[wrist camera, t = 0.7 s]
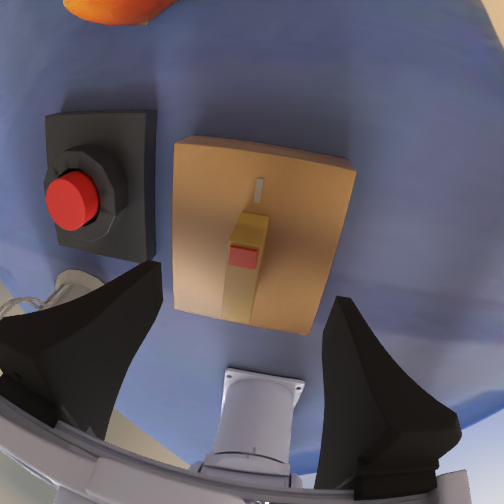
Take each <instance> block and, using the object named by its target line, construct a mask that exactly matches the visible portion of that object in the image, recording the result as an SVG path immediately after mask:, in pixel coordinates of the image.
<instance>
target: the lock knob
mask: <svg viewBox="0 0 504 504" xmlns="http://www.w3.org/2000/svg"><path fill="white" fill-rule="evenodd" d="M268 223H269V217H268V216H262V215H256V214H250V213H244V212H241V214H240V216H239V218H238V221H237V223H236V225H235V227H234V229H233V231H232V234H231V236H230V238H229V240H228V249H227V260H226V270H225V281H224V293H223V304H222V316H221V318H222V319H224V320H229V321H234V322H239V323H245V324H250V320H251V316H252V311H253V307H254V302H255V298H256V293H257V288H258V283H259V277H260V271H261V265H262V259H263V253H264V247H265V241H266V235H267V229H268Z"/></svg>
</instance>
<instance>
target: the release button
mask: <svg viewBox="0 0 504 504" xmlns="http://www.w3.org/2000/svg"><path fill="white" fill-rule="evenodd" d="M46 203H47V208H48V211H49V213H50V215H51V217H52V219H53V220H54V221H55V222H56V223H57V224H58V225H59V226H60V227H62V228H63V229H65V230H70V231H72V230H76V229H78V228H80V227H81V226H82V225H84V224H85V223H86V222H88V221H89V220H90V219H91V218H93V217H94V216H95V215H96V213H97V211H98V209H99V203H100V198H99V193H98V189H97V187H96V185H95V183H94V182H93V180H92V179H91V178H90V177H89V176H88V175H87V174H85V173H83V172H80V171H72V172H69V173H67V174H65V175H64V176H62V177H60V178H58V179H56V180H54V181H53V182H52V183H51V184H50V185H49V187H48V189H47V193H46Z"/></svg>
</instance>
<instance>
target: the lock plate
mask: <svg viewBox="0 0 504 504" xmlns="http://www.w3.org/2000/svg"><path fill="white" fill-rule="evenodd" d="M356 173H357V172H356V170H355V169H354V167H353V166H352V164H351V163H350V162H349V160H348V159H344V158H339V157H335V156H330V155H325V154H320V153H315V152H310V151H305V150H300V149H294V148H288V147H283V146H277V145H270V144H264V143H257V142H251V141H243V140H236V139H228V138H219V137H210V136H200V135H190V136H188V137H186V138H184V139H181V140H179V141H177V142H175V144H174V163H173V193H172V268H173V299H174V309H176V310H180V311H185V312H189V313H193V314H198V315H202V316H207V317H212V318H216V319H221V320H224V319H222V318H221V316H222V304H223V293H224V281H225V270H226V260H227V249H228V240H229V238H230V236H231V234H232V231H233V229H234V227H235V225H236V223H237V221H238V218H239V216H240V214H241V212H244V213H250V214H256V215H262V216H268V217H269V223H268V229H267V235H266V241H265V247H264V253H263V259H262V265H261V271H260V277H259V283H258V288H257V293H256V298H255V302H254V307H253V311H252V316H251V320H250V324H246V325H252V326H257V327H262V328H268V329H274V330H279V331H285V332H291V333H297V334H304V335H309V333H310V330H311V327H312V324H313V322H314V319H315V316H316V313H317V310H318V307H319V304H320V301H321V298H322V294H323V291H324V288H325V285H326V282H327V279H328V276H329V272H330V269H331V266H332V262H333V259H334V256H335V252H336V249H337V245H338V242H339V238H340V235H341V231H342V228H343V224H344V220H345V217H346V213H347V209H348V205H349V201H350V197H351V193H352V189H353V185H354V181H355V177H356ZM226 321H229V320H226ZM231 322H234V321H231ZM236 323H239V322H236ZM241 324H245V323H241Z"/></svg>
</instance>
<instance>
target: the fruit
mask: <svg viewBox="0 0 504 504" xmlns="http://www.w3.org/2000/svg"><path fill="white" fill-rule="evenodd" d="M177 1H179V0H63V4H64V6H65V7H66V9H67V10H68V11H70V12H71V13H72V14H74V15H76V16H78V17H80V18H81V19H84V20H87V21H91V22H95V23H100V24H105V25H148V23H149V21H150V20H151V19H153V18H155V17H156V16H158V15H159V14H160V13H161V12H162V11H164V10H165V9H166V8H168V7H169V6H171V5H172V4H174V3H175V2H177Z"/></svg>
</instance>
